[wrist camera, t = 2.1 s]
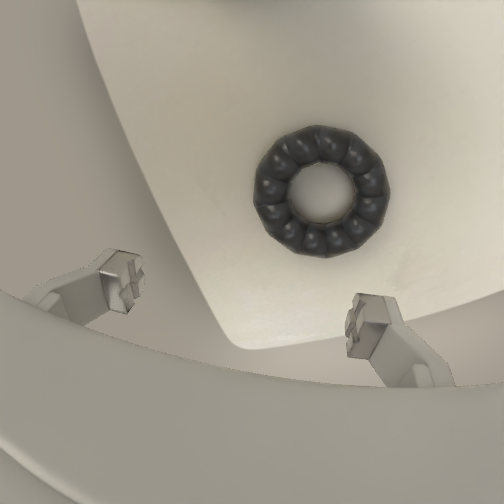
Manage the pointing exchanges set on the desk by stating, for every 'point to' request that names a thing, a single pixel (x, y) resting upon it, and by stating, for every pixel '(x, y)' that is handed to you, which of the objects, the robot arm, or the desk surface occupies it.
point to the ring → (309, 153)
